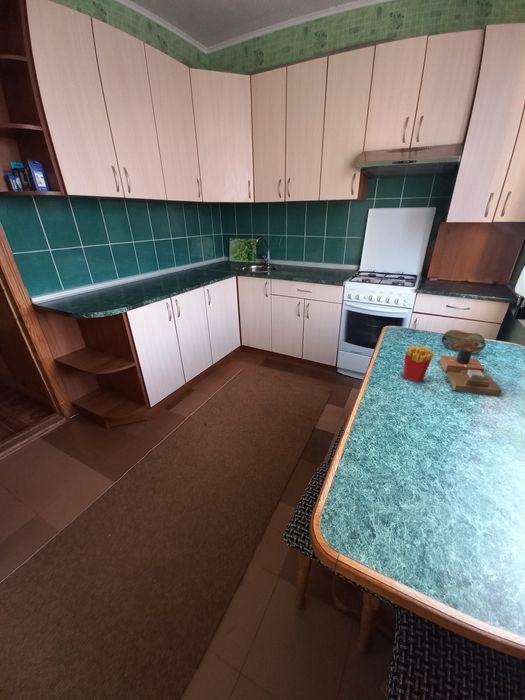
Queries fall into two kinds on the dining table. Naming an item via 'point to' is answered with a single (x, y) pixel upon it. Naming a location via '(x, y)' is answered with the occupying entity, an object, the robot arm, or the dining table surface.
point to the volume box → (459, 364)
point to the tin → (463, 340)
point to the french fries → (417, 362)
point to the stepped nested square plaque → (473, 384)
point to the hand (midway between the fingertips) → (519, 318)
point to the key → (475, 374)
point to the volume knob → (464, 355)
